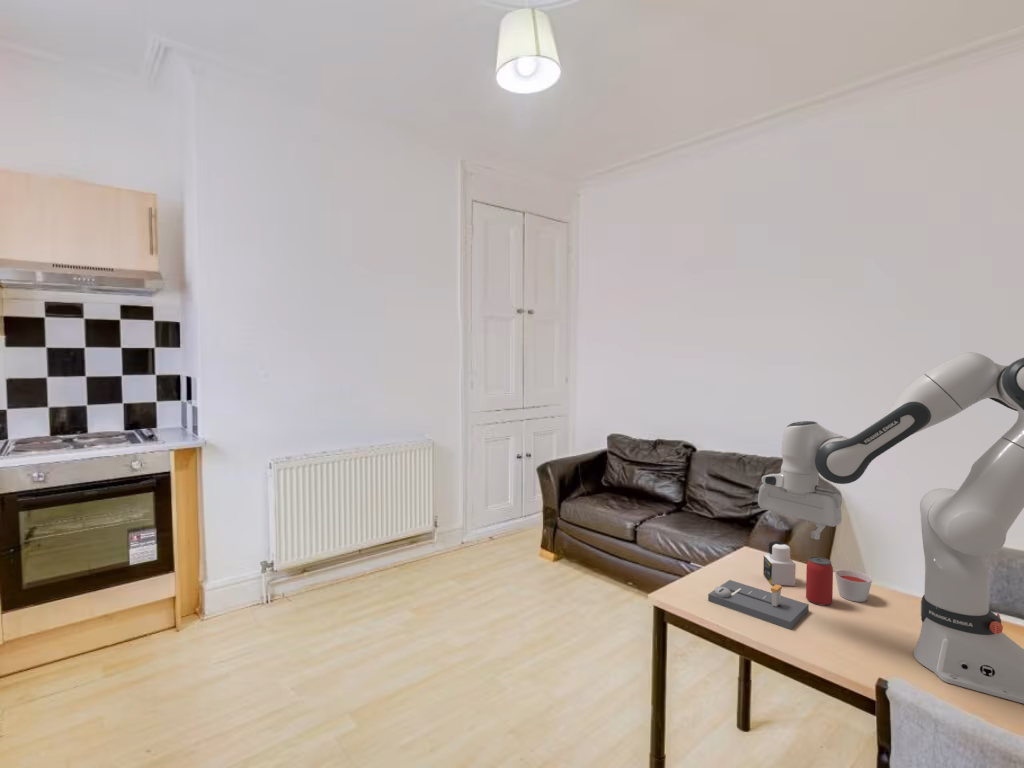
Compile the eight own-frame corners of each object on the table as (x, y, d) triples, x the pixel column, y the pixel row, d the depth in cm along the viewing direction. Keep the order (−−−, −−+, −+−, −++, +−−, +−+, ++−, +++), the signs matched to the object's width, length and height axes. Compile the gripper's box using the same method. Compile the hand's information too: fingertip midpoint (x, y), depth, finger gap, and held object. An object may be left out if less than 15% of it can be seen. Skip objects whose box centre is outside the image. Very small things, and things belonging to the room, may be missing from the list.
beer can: (825, 596, 151) (826, 556, 151) (837, 606, 145) (838, 564, 144) (801, 595, 152) (802, 555, 151) (812, 605, 145) (813, 564, 145)
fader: (781, 602, 142) (781, 585, 142) (776, 607, 140) (777, 589, 139) (775, 600, 143) (775, 584, 143) (770, 605, 141) (770, 588, 141)
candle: (829, 589, 156) (829, 568, 155) (861, 591, 154) (862, 570, 154) (843, 603, 147) (844, 581, 147) (878, 605, 145) (878, 583, 145)
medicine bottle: (763, 575, 166) (763, 539, 165) (786, 576, 165) (787, 539, 164) (770, 585, 159) (771, 546, 158) (795, 586, 158) (796, 548, 157)
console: (808, 611, 142) (808, 598, 142) (790, 629, 132) (790, 615, 132) (729, 586, 158) (729, 574, 158) (708, 600, 148) (708, 588, 148)
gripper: (847, 489, 129) (844, 542, 130) (768, 473, 146) (765, 520, 147) (836, 492, 126) (833, 548, 127) (755, 475, 142) (753, 524, 143)
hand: (796, 533), depth 137 cm, fingers open, 8 cm apart
